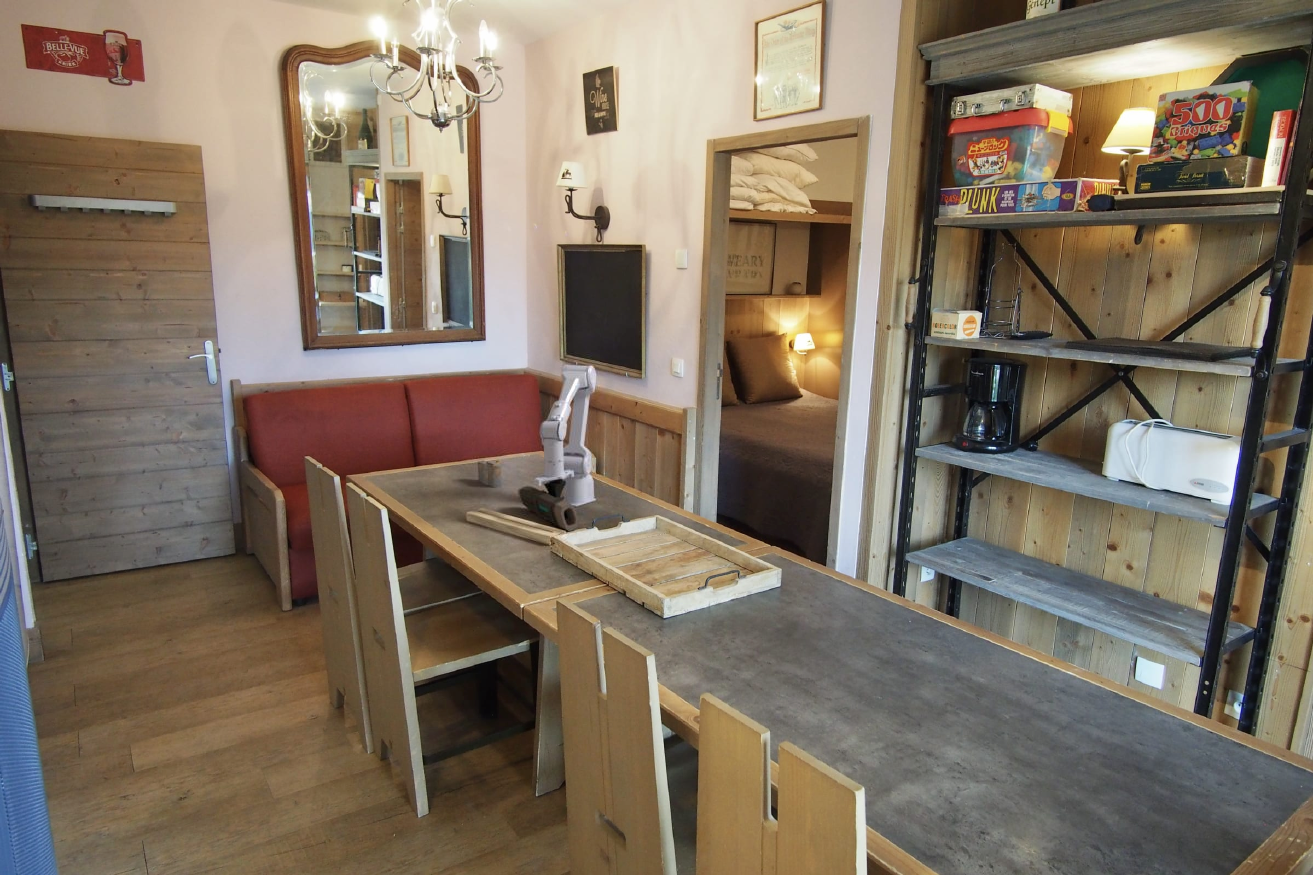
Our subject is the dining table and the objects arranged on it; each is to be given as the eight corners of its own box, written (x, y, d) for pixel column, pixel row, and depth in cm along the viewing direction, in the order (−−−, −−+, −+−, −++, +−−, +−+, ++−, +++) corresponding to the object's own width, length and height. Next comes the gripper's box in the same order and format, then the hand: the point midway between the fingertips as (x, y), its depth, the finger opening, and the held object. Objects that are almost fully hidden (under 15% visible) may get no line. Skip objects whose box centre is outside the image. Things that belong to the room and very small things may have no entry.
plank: (482, 515, 247) (482, 507, 246) (566, 539, 225) (565, 530, 224) (466, 520, 242) (466, 512, 242) (550, 545, 220) (550, 536, 220)
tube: (542, 507, 258) (587, 520, 233) (526, 521, 256) (570, 535, 230) (523, 481, 254) (567, 491, 229) (507, 494, 252) (549, 506, 226)
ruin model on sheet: (502, 487, 281) (501, 460, 279) (494, 489, 279) (493, 461, 277) (486, 481, 289) (485, 454, 287) (478, 482, 287) (477, 455, 285)
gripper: (545, 466, 234) (546, 511, 237) (580, 457, 245) (581, 501, 248) (528, 463, 239) (530, 507, 241) (564, 454, 250) (565, 497, 252)
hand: (555, 504), depth 245 cm, fingers closed, pressing on tube
